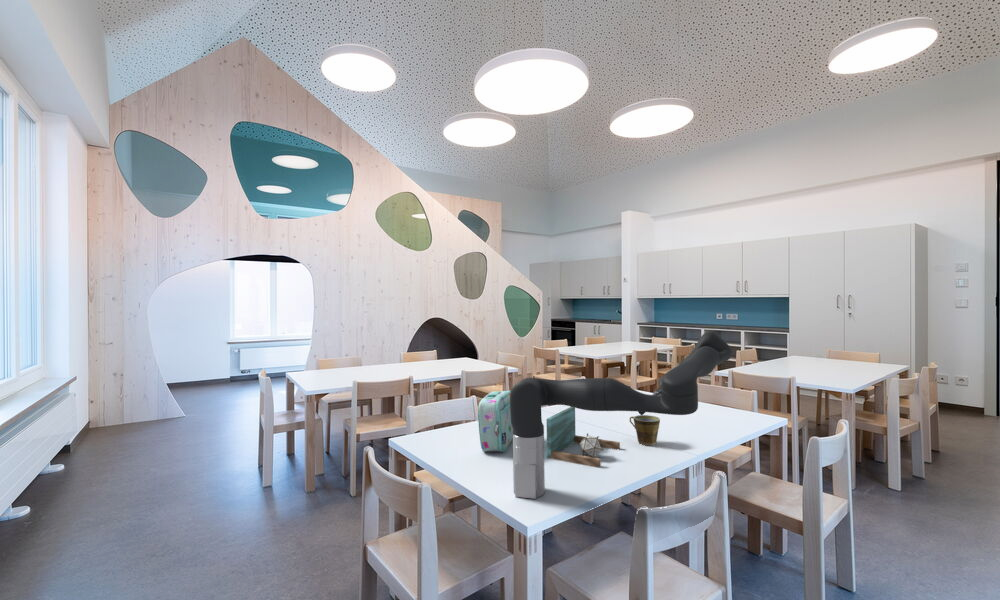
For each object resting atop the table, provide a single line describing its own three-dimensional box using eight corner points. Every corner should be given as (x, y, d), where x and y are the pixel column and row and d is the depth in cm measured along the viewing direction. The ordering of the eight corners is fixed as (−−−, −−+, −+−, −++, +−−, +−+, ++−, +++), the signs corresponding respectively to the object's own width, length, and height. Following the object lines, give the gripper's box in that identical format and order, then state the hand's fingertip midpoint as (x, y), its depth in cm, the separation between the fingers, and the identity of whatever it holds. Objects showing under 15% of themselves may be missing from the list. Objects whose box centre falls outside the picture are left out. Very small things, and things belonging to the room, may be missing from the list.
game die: (586, 466, 164) (580, 439, 170) (608, 460, 162) (601, 433, 168) (578, 460, 158) (572, 432, 164) (601, 453, 155) (594, 426, 161)
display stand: (619, 448, 172) (619, 411, 172) (599, 467, 153) (598, 426, 153) (572, 441, 182) (571, 406, 183) (547, 457, 163) (546, 418, 163)
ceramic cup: (665, 444, 177) (665, 418, 177) (650, 449, 171) (649, 422, 171) (637, 436, 187) (637, 412, 187) (622, 441, 181) (621, 416, 181)
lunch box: (504, 457, 164) (503, 398, 164) (477, 456, 166) (476, 397, 166) (516, 436, 190) (515, 385, 190) (492, 435, 192) (492, 385, 192)
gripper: (681, 392, 144) (642, 425, 150) (689, 386, 155) (652, 417, 161) (663, 374, 146) (626, 407, 153) (672, 369, 158) (637, 400, 164)
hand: (639, 412), depth 157 cm, fingers closed
